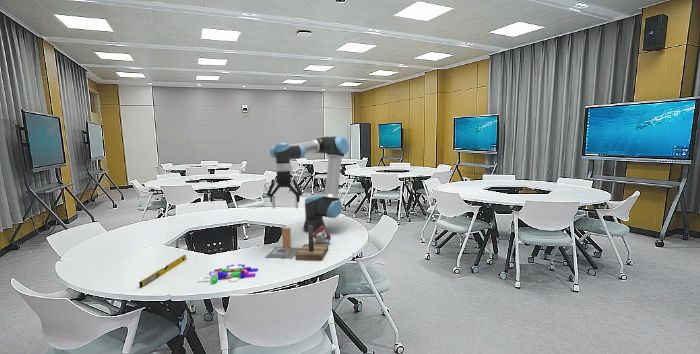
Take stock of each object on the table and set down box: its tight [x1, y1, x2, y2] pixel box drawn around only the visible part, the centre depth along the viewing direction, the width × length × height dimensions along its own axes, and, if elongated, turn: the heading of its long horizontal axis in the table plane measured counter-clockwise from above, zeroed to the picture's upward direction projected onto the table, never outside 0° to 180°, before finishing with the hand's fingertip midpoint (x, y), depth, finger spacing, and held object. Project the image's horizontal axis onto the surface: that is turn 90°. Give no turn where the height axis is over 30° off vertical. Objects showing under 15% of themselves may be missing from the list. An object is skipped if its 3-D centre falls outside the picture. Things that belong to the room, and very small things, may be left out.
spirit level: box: [138, 254, 187, 288], centre depth 164 cm, size 33×1×3 cm, turn 175°
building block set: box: [197, 263, 259, 285], centre depth 161 cm, size 25×20×4 cm
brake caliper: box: [313, 226, 332, 246], centre depth 201 cm, size 11×11×12 cm
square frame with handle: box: [271, 227, 294, 257], centre depth 188 cm, size 14×9×12 cm, turn 172°
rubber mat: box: [264, 246, 301, 259], centre depth 188 cm, size 16×15×1 cm
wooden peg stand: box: [294, 225, 329, 262], centre depth 183 cm, size 17×14×17 cm
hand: (285, 208), depth 191 cm, fingers open, 13 cm apart
